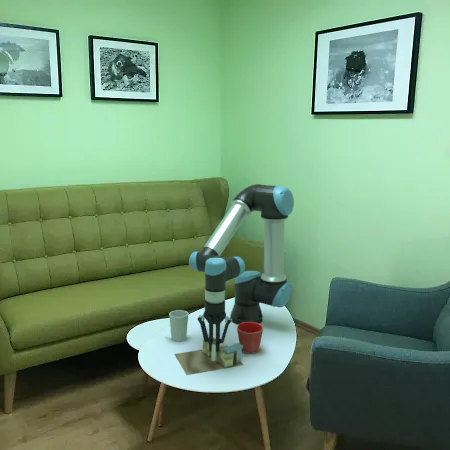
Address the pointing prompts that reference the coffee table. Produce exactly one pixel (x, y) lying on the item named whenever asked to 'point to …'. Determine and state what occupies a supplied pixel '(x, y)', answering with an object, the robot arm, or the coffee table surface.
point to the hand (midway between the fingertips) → (214, 359)
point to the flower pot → (250, 336)
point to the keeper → (234, 351)
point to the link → (219, 354)
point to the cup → (178, 325)
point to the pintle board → (199, 362)
